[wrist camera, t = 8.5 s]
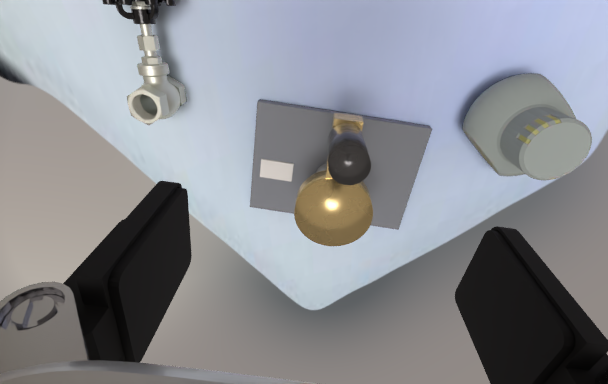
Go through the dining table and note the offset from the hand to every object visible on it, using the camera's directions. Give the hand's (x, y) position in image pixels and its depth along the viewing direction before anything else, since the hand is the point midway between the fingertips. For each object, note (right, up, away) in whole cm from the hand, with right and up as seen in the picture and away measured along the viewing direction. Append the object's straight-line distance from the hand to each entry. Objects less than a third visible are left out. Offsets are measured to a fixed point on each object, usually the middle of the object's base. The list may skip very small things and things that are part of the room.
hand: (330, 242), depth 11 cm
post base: (+3, +5, +31) cm, 32 cm away
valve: (-16, +17, +27) cm, 36 cm away
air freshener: (+22, +10, +28) cm, 37 cm away
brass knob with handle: (+3, +3, +24) cm, 24 cm away
